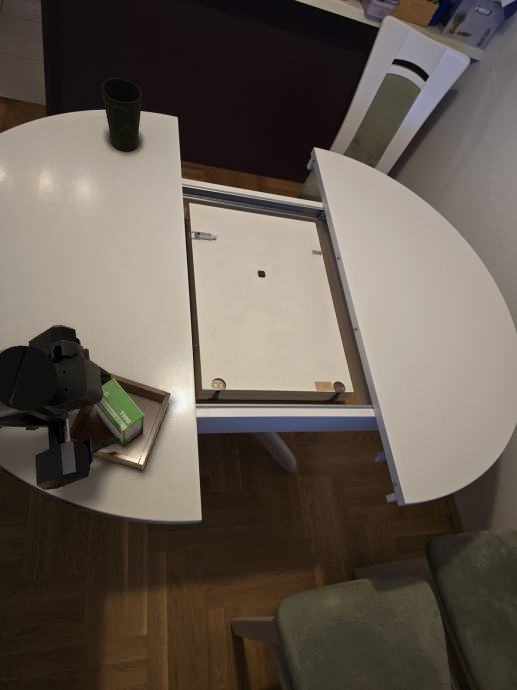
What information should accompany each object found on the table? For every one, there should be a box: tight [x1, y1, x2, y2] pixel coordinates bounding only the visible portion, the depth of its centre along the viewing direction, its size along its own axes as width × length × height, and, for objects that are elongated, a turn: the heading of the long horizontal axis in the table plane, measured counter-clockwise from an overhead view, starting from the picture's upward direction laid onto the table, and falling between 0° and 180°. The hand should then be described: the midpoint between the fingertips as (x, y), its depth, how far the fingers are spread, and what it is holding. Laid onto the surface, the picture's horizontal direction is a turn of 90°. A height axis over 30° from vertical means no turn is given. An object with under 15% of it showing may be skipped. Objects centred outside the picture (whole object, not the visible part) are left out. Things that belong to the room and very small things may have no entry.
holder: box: [69, 372, 171, 471], centre depth 60 cm, size 11×11×5 cm
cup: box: [100, 77, 143, 153], centre depth 82 cm, size 8×8×12 cm
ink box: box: [94, 378, 144, 446], centre depth 55 cm, size 7×4×13 cm, turn 44°
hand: (113, 407), depth 53 cm, fingers open, 9 cm apart
